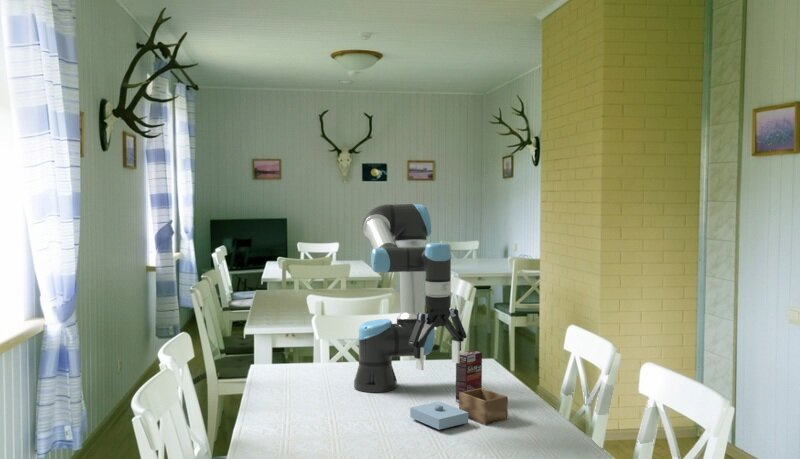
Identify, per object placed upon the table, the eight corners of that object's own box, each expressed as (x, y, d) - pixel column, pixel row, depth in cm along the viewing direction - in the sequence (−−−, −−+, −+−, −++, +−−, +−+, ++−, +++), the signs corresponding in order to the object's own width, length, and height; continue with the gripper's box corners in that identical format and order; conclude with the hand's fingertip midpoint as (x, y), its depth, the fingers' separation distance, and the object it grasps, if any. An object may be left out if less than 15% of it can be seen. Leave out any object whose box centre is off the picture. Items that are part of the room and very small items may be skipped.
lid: (410, 420, 217) (410, 404, 217) (439, 413, 223) (438, 398, 223) (438, 433, 206) (438, 415, 205) (468, 425, 212) (468, 409, 212)
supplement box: (466, 404, 232) (466, 356, 231) (455, 401, 236) (454, 354, 235) (482, 399, 239) (482, 351, 238) (471, 396, 242) (471, 349, 241)
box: (459, 415, 222) (459, 392, 221) (481, 409, 227) (481, 387, 226) (485, 425, 212) (485, 401, 212) (507, 419, 217) (507, 396, 217)
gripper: (411, 300, 203) (411, 374, 204) (478, 292, 217) (478, 362, 219) (396, 297, 209) (396, 369, 211) (462, 289, 223) (462, 357, 225)
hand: (438, 365), depth 215 cm, fingers open, 13 cm apart
